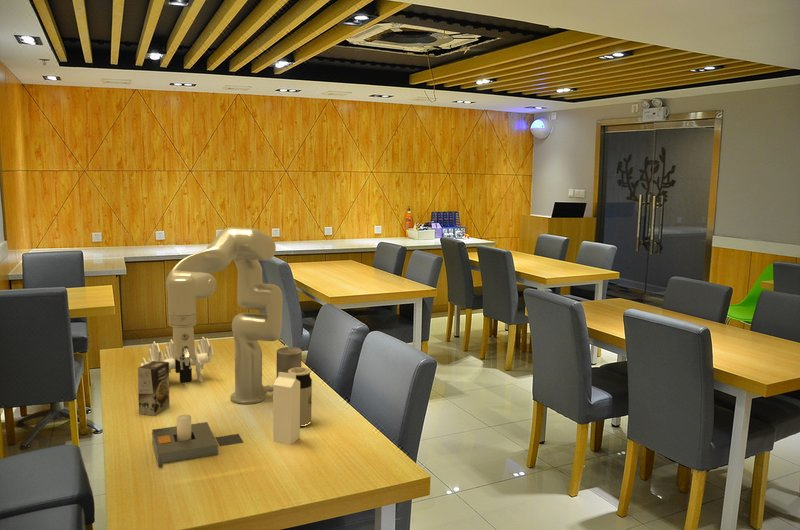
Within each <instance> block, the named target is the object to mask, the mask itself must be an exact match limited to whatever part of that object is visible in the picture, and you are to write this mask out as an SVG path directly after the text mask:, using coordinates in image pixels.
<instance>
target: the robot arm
mask: <svg viewBox="0 0 800 530" xmlns="http://www.w3.org/2000/svg"><path fill="white" fill-rule="evenodd" d="M276 249H277V248H276V241H275V240H274V238H273V237H271V236H270V235H269V234H267V233H265V232H263V231H261V230H259V229H257V228H253V227H235V226H231V227H230V226H229V227H225V228H224V229H222V230H221V231H220V232H218V234H217V235H216V237H214V239H213V240H212V241H211V242H210V243H209V245H208V246H207V247H206V249H203V250H201V251H198V252H196V253H194V254H191V255H188V256H187V257H184V258H182V259H181V260H179V262H177V263H176V264H175V266H174V267H173V268H172V269H171V271H170V272H169V274H168V275H167V276H166V279H165V289H166V290H167V314H168V320H167V321H168V326H169V327H171V328H172V341H173V347H174V354H175V357H176V360H175V369H174V370H175V371H174V372H175V374H179V383H180V384H183V383H185V384H188V383H192V382H193V380H192V379H193V375H192V374H193V371H192V366H191V360H190V358H191V359H192V360H194V359H195V346H196V345H195V333H194V332H195V331H194V326H196V325H197V300H199V299H207V298H209V297H211V296H212V295H213V294H215V292H216V290H217V280H216V277H215V276H214V275H212V274H214V273H217V272H221V271H223V270H225V269H226V268H228V266H229V265H230V264H231V262H234V263H235V267H236V268H237V296H236V297H237V305H238V306H239V307H240V308H241V309H244V310H252V311H253V310H255V311H265V314H264V313H256V312H241V313H238V314H236V315H235V316H234V317H233V319H232V321H231V331H232V336H233V340H234V341H233V343H234V392H233V393H231V395H230V400H231V401H232V402H233V403H236V404H239V403H240V404H242V405H252V404H257V403H260V402H263V401H265V400H266V399H267V394H268V393H273V386H270V385H269V384H267V385H263V350H262V346H261V345H260V343H259V342H260V341H261V342H275V341H277V340H279V338H280V336H281V334H282V328H283V301H284V300H283V298H284V297H283V291H282V290H281V288H280V287H279V286H278V285H277V284H272V283H264V282H263V268H262V265H261V263H260V262H259V261H264V262H265V261H270V260H272V259H273V258H274V256H275V254H276Z"/></svg>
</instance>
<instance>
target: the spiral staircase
mask: <svg viewBox="0 0 800 530" xmlns="http://www.w3.org/2000/svg"><path fill="white" fill-rule="evenodd" d="M149 347H150V348H149V349H148V357H147V361H146V358H145V357H142V362H141V363H140V365H139V367H141V366H143V365H145V364H148V363H150V362H152V361H161V362H169V374H170V373H171V372H172V371H171V370H175V360H176V357H175V354H174V347H173V338H172V339H169V341H168V342H166V345H165V351H164V352H165V353H163V350H161V349H160V346H159V343H158V342H157V343H156V341H153V343H152V344H151V345H150V346H149ZM214 356H215V354H214V348H213V344H210V342H209V339H208V337H206V338H205V337H204V336H202V337H201V339H200V340H199V341H198V344H197V347H196V345H195V359H194V360H192V359H191V358H190V360H191V367H193V366H195V373H196V376H197V377H196V378H197V379H198V382H199V383H202V382H203V376H202V375H203V372H202V370H204V364H209V363H211V358H212V357H214ZM182 384H183V386H186V383H182Z"/></svg>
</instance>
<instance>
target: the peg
mask: <svg viewBox="0 0 800 530" xmlns="http://www.w3.org/2000/svg"><path fill="white" fill-rule="evenodd" d="M191 424H192V415H190V414H180V415H178V416H177V417H176V426H177V442H180V441H187V440H192V438H191Z"/></svg>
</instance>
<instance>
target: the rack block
mask: <svg viewBox="0 0 800 530" xmlns="http://www.w3.org/2000/svg"><path fill="white" fill-rule="evenodd" d="M151 433H152V434H151V436H152V437H151V439H152V446H153V451H154V455H155V459H156V463H158V464H157V467H160V468H163V467H164V465H163V464H169V463H176V462H181V461H188V460H194V459H200V458H206V457H211V456H212V457H213V456H218V455H219V444H218V442H217V440H216V438H215V436H214V433H213V432H212V430H211V427H210V425H209V423H208V421H204V422H198V423H191V438H192V440H187V441H180V442H177V425H176V426H169V427H163V428H154V429H152V430H151Z"/></svg>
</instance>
